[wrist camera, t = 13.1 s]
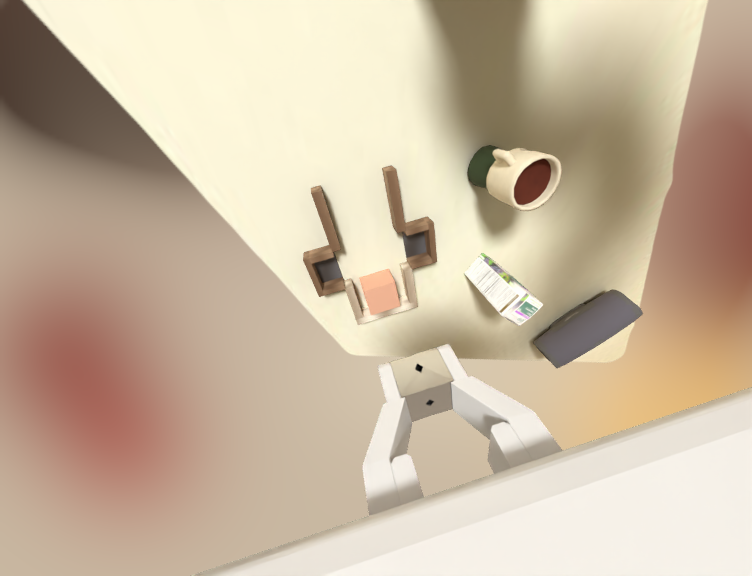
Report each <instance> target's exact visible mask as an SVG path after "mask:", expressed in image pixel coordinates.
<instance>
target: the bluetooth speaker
mask: <svg viewBox="0 0 752 576" xmlns="http://www.w3.org/2000/svg"><path fill="white" fill-rule="evenodd" d="M642 314H643V313H642V311H641V309H640V308H639V307H638V306H637V305H636V304H635V303H633V302H632V301H631V300H630V299H629V298H627V297H626V296H625V295H624V294H622V293H621V292H619V291H617V290H610V291H608V292H606V293H604V294H602V295H601V296H599V297H597V298H596V299H594V300H593V301H591V302H589V303H587V304H580V305H579V306H577V307H575V308H574V309H572V310H571V311H569V312H568V313H566V314H565V315H563V316H562V317H560V318H559V319H558V320H556V321H555V322H554V323H552V324H551V325H550V329H549V330H548V331H547V332H545V333H544V334H543V335H541V336H540V337H539V338H538V339H537V340H535V341H534V342H533V343H534V344H535V345H536V347H537V348H538V349H539V350H540V352H541V353H542V354H543V355H544V356H545V357H546V358H547V359H548V360H549V361H550V362H551V363H552V364H553V365H554V366H555V367H556V368H559V367H561V366H563V365H565V364H567V363H569V362H571V361H573V360H574V359H576V358H578V357H580V356H581V355H583V354H585V353H586V352H588V351H590V350H592V349H593V348H595V347H596V346H598V345H600V344H601V343H603V342H604V341H606V340H607V339H609V338H610V337H612V336H614V335H615V334H617V333H618V332H619V331H621V330H622V329H624V328H625V327H627V326H628V325H630V324H631V323H632V322H634V321H635V320H636V319H638V318H639V317H640V316H641V315H642Z"/></svg>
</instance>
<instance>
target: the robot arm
mask: <svg viewBox="0 0 752 576" xmlns="http://www.w3.org/2000/svg"><path fill="white" fill-rule="evenodd" d="M390 364H391V365H390ZM378 371H379V375H380V378H381V382H382V386H383V390H384V394H385V398H386V402H387V403H384V404H383V406H382V409H381V412H380V415H379V418H378V421H377V424H376V427H375V430H374V433H373V436H372V440H371V442H370V445H369V448H368V451H367V454H366V458H365V460H364V463H363V474H364V482H365V489H366V496H367V503H368V510H369V516H367V517H364V518H361V519H359V520H355V521H352V522H349V523H347V524H344V525H341V526H337V527H334V528H332V529H329V530H325V531H322V532H319V533H316V534H314V535H311V536H308V537H305V538H302V539H299V540H296V541H293V542H290V543H287V544H284V545H281V546H278V547H275V548H272V549H269V550H266V551H263V552H260V553H257V554H254V555H251V556H248V557H245V558H242V559H239V560H236V561H233V562H230V563H227V564H224V565H221V566H218V567H216V568H213V569H209V570H206V571H203V572H200V573H198V574H195V575H192V576H752V387H751V388H748V389H745V390H742V391H739V392H736V393H733V394H730V395H727V396H724V397H721V398H718V399H715V400H712V401H709V402H707V403H703V404H700V405H697V406H695V407H691V408H689V409H685V410H683V411H679V412H677V413H673V414H671V415H668V416H665V417H662V418H659V419H656V420H653V421H650V422H647V423H644V424H641V425H638V426H635V427H632V428H629V429H626V430H623V431H620V432H617V433H614V434H611V435H608V436H605V437H602V438H599V439H596V440H593V441H590V442H587V443H584V444H581V445H578V446H576V447H572V448H569V449H566V450H563V451H562V449H561V448H560V446H559V445H558V444H557V442H556V441H555V440H554V438H553V437H552V436H551V434H550V433H549V431H548V430H547V429H546V427H545V426H544V425H543V424H542V422H541V421H540V419H539V418H538V416H537V415H536V414H535V412H534V411H533V410H531V409H529V408H527V407H526V406H524V405H522V404H520V403H519V402H517V401H515V400H513V399H512V398H510V397H508V396H506V395H505V394H503V393H501V392H500V391H498V390H496V389H494V388H493V387H491V386H489V385H488V384H486V383H484V382H482V381H481V380H479V379H477V378H475V377H474V376H469V377H468V375H467V373H466V372H465V370H464V368H463V366H462V365H461V363H460V361H459V360H458V358H457V356H456V355H455V353H454V351H453V349H452V348H451V346H450V345H449V344H445V345H442V346H439V347H435V348H432V349H429V350H426V351H423V352H420V353H417V354H414V355H412V356H409V357H405V358H402V359H398V360H395V361H391V362H388V363H384V364H381V365H378ZM451 409H453V411H455V412H456V413H457V414H458V415H460V416H461V417H462V418H463V419H465V420H466V421H467V422H468V423H470V424H471V425H472V426H473V427H474V428H476V429H477V430H478V431H480V432H481V433H482V434H483V435H484V436H486V437H487V438H488V439H489V440H490V444H489V453H488V462H489V464H490V466H491V468H492V470H493V472H494V474H492V475H489V476H486V477H483V478H480V479H477V480H474V481H471V482H468V483H465V484H462V485H459V486H456V487H453V488H451V489H448V490H444V491H442V492H439V493H436V494H433V495H430V496H427V497H423V493H422V490H421V487H420V483H419V480H418V477H417V474H416V471H415V467H414V464H413V461H412V458H411V456H409V455H407V448H408V442H409V438H410V433H411V427H412V422H414V421H416V420H419V419H422V418H425V417H428V416H431V415H434V414H437V413H441V412H444V411H448V410H451Z"/></svg>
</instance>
